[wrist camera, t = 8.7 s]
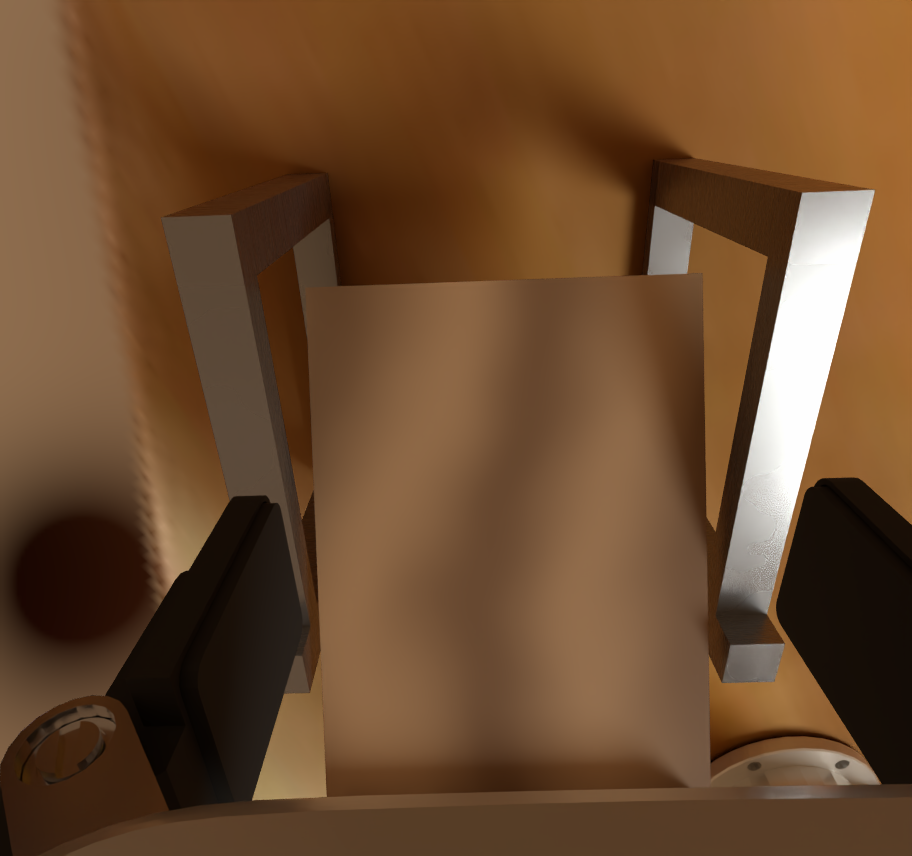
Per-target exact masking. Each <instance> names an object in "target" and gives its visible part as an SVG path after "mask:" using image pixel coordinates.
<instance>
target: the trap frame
mask: <svg viewBox="0 0 912 856" xmlns="http://www.w3.org/2000/svg"><path fill="white" fill-rule="evenodd" d="M874 192H875V190H873V189H867V188H862V187H856V186H850V185H844V184H839V183H833V182H827V181H822V180H816V179H810V178H805V177H799V176H793V175H787V174H782V173H776V172H770V171H765V170H759V169H753V168H747V167H742V166H736V165H730V164H725V163H719V162H713V161H708V160H702V159H696V158H688V159H663V160H653V170H652V180H651V190H650V200H649V210H648V220H647V230H646V240H645V250H644V260H643V270H642V275H665V274H687V269H688V261H689V254H690V246H691V239H692V231H693V224H697V225H699V226H701V227H703V228H705V229H708V230H710V231H712V232H714V233H717V234H719V235H721V236H723V237H725V238H728V239H730V240H732V241H734V242H737V243H739V244H741V245H743V246H745V247H748V248H750V249H752V250H754V251H756V252H759V253H761V254H763V255H765V256H768V259H767V265H766V270H765V275H764V281H763V286H762V291H761V296H760V302H759V307H758V312H757V317H756V323H755V328H754V333H753V338H752V344H751V349H750V354H749V360H748V365H747V370H746V375H745V381H744V386H743V391H742V396H741V402H740V407H739V412H738V418H737V423H736V428H735V433H734V439H733V444H732V449H731V454H730V460H729V465H728V470H727V475H726V481H725V486H724V491H723V497H722V502H721V507H720V512H719V518H718V523H717V528H716V532H715V530H714V529H713V527H712V525H711V524H710V522H709V521H708V519H707V517H706V526H707V587H708V649H709V656H710V658H711V660H712V663H713V665H714V667H715V669H716V671H717V673H718V675H719V678H720V680H721V682H722V683H739V682H774V681H775V677H776V674H777V670H778V667H779V663H780V660H781V656H782V652H783V649H784V645H785V643H784V641H783V640H782V638H781V637H780V635H779V633H778V632H777V630H776V628H775V627H774V625H773V624H772V622H771V620H770V619H769V617H768V616H767V611H768V608H769V604H770V600H771V596H772V592H773V588H774V584H775V580H776V576H777V572H778V568H779V564H780V561H781V557H782V553H783V549H784V545H785V541H786V537H787V533H788V529H789V525H790V521H791V517H792V513H793V510H794V506H795V502H796V498H797V494H798V490H799V486H800V482H801V478H802V474H803V470H804V466H805V462H806V459H807V455H808V451H809V447H810V443H811V439H812V435H813V431H814V427H815V423H816V419H817V415H818V411H819V408H820V404H821V400H822V396H823V392H824V388H825V384H826V380H827V376H828V372H829V368H830V364H831V361H832V357H833V353H834V349H835V345H836V341H837V337H838V333H839V329H840V325H841V321H842V317H843V313H844V310H845V306H846V302H847V298H848V294H849V290H850V286H851V282H852V278H853V274H854V270H855V266H856V262H857V259H858V255H859V251H860V247H861V243H862V239H863V235H864V231H865V227H866V223H867V219H868V215H869V212H870V208H871V204H872V200H873V196H874ZM161 220H162V224H163V228H164V232H165V236H166V240H167V244H168V248H169V253H170V257H171V261H172V265H173V269H174V273H175V277H176V281H177V286H178V290H179V294H180V298H181V302H182V306H183V310H184V314H185V318H186V323H187V327H188V331H189V335H190V339H191V343H192V347H193V351H194V355H195V360H196V364H197V368H198V372H199V376H200V380H201V384H202V388H203V392H204V397H205V401H206V405H207V409H208V413H209V417H210V421H211V425H212V429H213V434H214V438H215V442H216V446H217V450H218V454H219V458H220V462H221V466H222V471H223V475H224V479H225V483H226V487H227V491H228V495H229V499H230V500H231V499H232V498H233V497H235V496H257V495H266V496H267V497H268V498H269V500H270V502H271V503H278V504H279V505H280V508H281V512H282V517H283V522H284V527H285V532H286V537H287V542H288V547H289V552H290V557H291V562H292V567H293V572H294V577H295V582H296V587H297V592H298V597H299V602H300V607H301V612H302V619H303V626H302V634H301V638H300V642H299V645H298V648H297V652H296V655H295V658H294V662H293V665H292V668H291V672H290V675H289V678H288V682H287V685H286V688H285V692H284V693H310V690H311V686H312V682H313V678H314V674H315V671H316V667H317V663H318V659H319V655H320V651H321V646H320V623H319V599H318V575H317V552H316V528H315V505H314V490H313V493H312V496H311V498H310V501H309V503H308V506H307V509H306V511H305V514H304V516H303V519H301V514H300V508H299V503H298V498H297V492H296V487H295V481H294V476H293V470H292V465H291V459H290V454H289V448H288V443H287V437H286V432H285V426H284V421H283V416H282V410H281V405H280V399H279V394H278V388H277V383H276V377H275V372H274V366H273V361H272V355H271V350H270V345H269V339H268V334H267V328H266V323H265V317H264V312H263V306H262V301H261V295H260V290H259V284H258V279H257V275H258V274H259V273H261V272H262V271H263V270H264V269H266V268H267V267H268V266H270V265H271V264H272V263H273V262H275V261H276V260H277V259H278V258H280V257H281V256H282V255H283V254H285V253H286V252H287V251H288V250H290V249H291V248H292V247H293V250H294V256H295V263H296V269H297V276H298V282H299V289H300V295H301V302H302V309H303V315H304V322H305V328H306V335H307V316H306V292H305V288H307V287H335V286H341V278H340V270H339V262H338V254H337V245H336V237H335V229H334V221H333V213H332V204H331V196H330V188H329V180H328V173H312V174H287V175H284V176H281V177H278V178H276V179H273V180H270V181H267V182H264V183H261V184H258V185H255V186H252V187H249V188H246V189H243V190H240V191H237V192H234V193H231V194H229V195H226V196H223V197H220V198H217V199H214V200H211V201H208V202H205V203H202V204H199V205H196V206H193V207H190V208H187V209H184V210H182V211H179V212H176V213H173V214H170V215H167V216H164V217H161ZM307 341H308V340H307Z"/></svg>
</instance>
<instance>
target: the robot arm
mask: <svg viewBox="0 0 912 856" xmlns="http://www.w3.org/2000/svg"><path fill="white" fill-rule="evenodd" d="M776 612H777V617H778V620H779V622H780V624H781V626H782V627H783V629H784V631H785V632H786V634H787V635H788V637H789V638H790V640H791V642H792V643H793V645H794V646H795V648H796V649H797V651H798V653H799V654H800V656H801V657H802V659H803V660H804V662H805V664H806V665H807V667H808V668H809V670H810V671H811V673H812V675H813V676H814V678H815V679H816V681H817V682H818V684H819V686H820V687H821V689H822V690H823V692H824V693H825V695H826V697H827V698H828V700H829V701H830V703H831V704H832V706H833V708H834V709H835V711H836V712H837V714H838V715H839V717H840V719H841V720H842V722H843V723H844V725H845V726H846V728H847V730H848V731H849V733H850V734H851V736H852V737H853V739H854V741H855V742H856V744H857V745H858V747H859V748H860V750H861V752H862V753H863V755H864V756H865V758H866V759H867V761H868V763H869V764H870V766H871V767H872V769H873V770H874V772H875V773H874V772H873V770H872V769H871V767H870V766H869V764H868V763H867V761H866V760H865V759H864V757H863V756H861V755H860V754H859V753H858V752H856V751H855V750H854V749H852V748H850V747H848V746H846V745H843V744H841V743H839V742H835V741H831V740H827V739H823V738H816V737H807V736H794V737H780V738H773V739H767V740H763V741H759V742H755V743H751V744H748V745H745V746H743V747H740V748H738V749H735V750H733V751H730V752H729V753H727V754H725V755H723V756H721V757H720V758H718V759H716V760H715V761H713V762H712V763H711V764H710V773H711V787H699V788H649V789H602V790H556V791H515V792H477V793H440V794H402V795H365V796H342V797H319V798H297V799H274V800H254V801H252V798H253V795H254V791H255V788H256V785H257V781H258V778H259V775H260V771H261V768H262V765H263V761H264V758H265V755H266V751H267V748H268V745H269V741H270V738H271V735H272V731H273V728H274V725H275V721H276V718H277V715H278V711H279V708H280V705H281V701H282V698H283V695H284V692H285V688H286V685H287V682H288V678H289V675H290V672H291V668H292V665H293V662H294V658H295V655H296V652H297V648H298V645H299V642H300V638H301V634H302V626H303V619H302V612H301V607H300V602H299V597H298V592H297V587H296V582H295V577H294V572H293V567H292V562H291V557H290V552H289V547H288V542H287V537H286V532H285V527H284V522H283V517H282V512H281V508H280V505H279V504H278V503H271V502H270V500H269V498H268V497H267V496H266V495H257V496H235V497H233V498H232V499H231V500H230V502H229V503H228V505H227V507H226V509H225V510H224V512H223V514H222V515H221V517H220V519H219V520H218V522H217V524H216V525H215V527H214V529H213V531H212V532H211V534H210V536H209V537H208V539H207V541H206V542H205V544H204V546H203V547H202V549H201V551H200V552H199V554H198V556H197V558H196V559H195V561H194V563H193V564H192V566H191V568H190V569H189V571H185V572H183V573H181V574H180V575H179V576H178V577H177V579H176V580H175V581H174V583H173V585H172V586H171V588H170V590H169V591H168V593H167V595H166V596H165V598H164V599H163V601H162V603H161V604H160V606H159V608H158V609H157V611H156V613H155V614H154V616H153V618H152V619H151V621H150V622H149V624H148V626H147V627H146V629H145V631H144V632H143V634H142V636H141V637H140V639H139V641H138V642H137V644H136V646H135V647H134V649H133V650H132V652H131V654H130V655H129V657H128V659H127V660H126V662H125V664H124V665H123V667H122V668H121V670H120V672H119V673H118V675H117V677H116V679H115V680H114V682H113V684H112V685H111V686H110V688H109V690H108V691H107V693H106V695H105V696H96V695H91V696H86V697H81V698H77V699H73V700H70V701H68V702H65V703H63V704H61V705H58V706H56V707H54V708H52V709H51V710H49V711H47V712H46V713H44V714H43V715H41V716H39V717H38V718H36V719H35V720H34V721H33V722H32V723H31V724H29V725H28V726H27V727H26V728H25V729H24V730H22V731H21V732H20V733H19V735H18V736H17V737H16V739H15V740H14V741H13V742H12V743H11V745H10V746H9V747H8V749H7V751H6V753H5V755H4V758H3V760H2V762H1V764H0V856H912V525H911V524H910V523H909V522H908V521H906V520H905V519H904V518H903V517H902V516H901V515H900V514H899V513H898V512H896V511H895V510H894V509H893V508H892V507H891V506H890V505H889V504H888V503H886V502H885V501H884V500H883V499H882V498H881V497H880V496H879V495H878V494H876V493H875V492H874V491H873V490H872V489H871V488H870V487H869V486H868V485H866V484H865V483H864V482H863V481H862V480H860V479H859V478H822V479H820V480H818V481H817V483H816V484H815V486H814V487H810V488H808V489H807V491H806V493H805V495H804V499H803V503H802V507H801V511H800V515H799V518H798V522H797V526H796V530H795V534H794V537H793V541H792V545H791V549H790V553H789V557H788V560H787V564H786V568H785V572H784V576H783V580H782V583H781V587H780V591H779V595H778V599H777V603H776ZM875 774H876V775H877V777H878V778H879V780H880V781H881V783H882V785H880V783H879V781H878V779H877V777H876V775H875Z"/></svg>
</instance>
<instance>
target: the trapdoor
mask: <svg viewBox="0 0 912 856" xmlns="http://www.w3.org/2000/svg"><path fill="white" fill-rule="evenodd" d="M305 292H306V316H307V340H308V363H309V387H310V410H311V434H312V458H313V481H314V505H315V528H316V552H317V575H318V599H319V623H320V646H321V670H322V693H323V717H324V740H325V764H326V788H327V797H342V796H365V795H402V794H440V793H477V792H515V791H556V790H602V789H649V788H699V787H711V773H710V711H709V649H708V587H707V526H706V464H705V402H704V340H703V278H702V273H692V274H665V275H637V276H610V277H582V278H555V279H527V280H500V281H472V282H445V283H417V284H390V285H362V286H335V287H307V288H305Z"/></svg>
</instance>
